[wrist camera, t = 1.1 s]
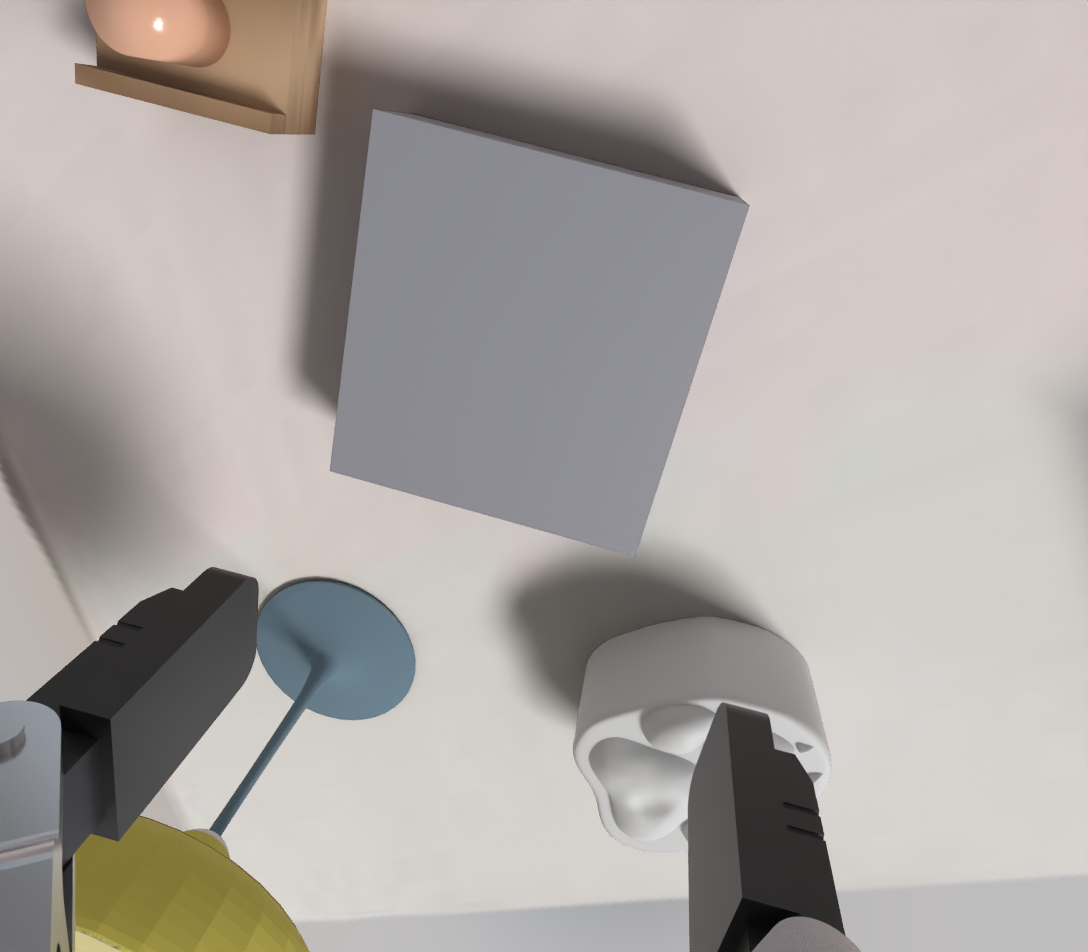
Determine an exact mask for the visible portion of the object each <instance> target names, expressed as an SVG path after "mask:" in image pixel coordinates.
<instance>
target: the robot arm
mask: <svg viewBox="0 0 1088 952" xmlns="http://www.w3.org/2000/svg"><path fill="white" fill-rule="evenodd" d="M258 591H259V590H258V582H257V580H256V579H255V578H253V577H249V576H246V575H242V574H238V573H234V572H230V571H226V570H223V569H219V568H215V567H211V568H209V569H207V570H206V571H204V572H203V573H202V574H201V575H200V576H199V577H198V578H197V579H196V580H194V581H193V582H192V583H191V584H190V585H189V586H188V587H187V588H186V589H185V590H184V591H182V590H179V589H175V588H170V589H167V590H165V591H163V592H161V593H158V594H156V595H154V596H152V597H149V598H147V599H145V600H143V601H141V602H139V603H138V604H137V605H136V606H135V607H134V608H132V609H131V610H130V611H129V612H128V613H127V614H126V615H124V616H123V617H122V618H121V619H120V620H119V621H118V624H117V625H113V626H112V627H110V628H109V629H108V630H107V631H106V632H105V633H104V634H102V635H101V636H100V638H99V641H98V642H97V641H94V642H93V643H92V644H91V645H90V646H89V647H87V648H86V649H85V650H84V651H83V652H82V653H80V654H79V655H78V656H77V657H76V658H75V659H74V660H72V661H71V662H70V663H69V664H68V665H67V666H65V667H64V668H63V669H62V670H61V671H60V672H58V673H57V674H56V675H55V676H54V677H53V678H52V679H50V680H49V681H48V682H47V683H46V684H45V685H43V686H42V687H41V688H40V689H39V690H38V691H36V692H35V693H34V694H33V695H32V696H31V697H30V698H28V699H27V700H26V701H7V702H1V703H0V952H75V855H74V853H75V852H76V851H77V850H78V849H79V847H80V846H81V845H82V844H83V843H84V841H85V840H86V839H87V838H88V837H89V835H90V834H94V835H97V836H101V837H104V838H108V839H111V840H114V841H118V842H119V841H120V839H121V838H122V837H123V836H124V834H125V833H126V832H127V831H128V829H129V828H130V827H131V826H132V824H133V823H134V822H135V821H136V819H137V818H138V817H139V815H140V814H141V813H142V812H143V810H144V809H145V808H146V807H147V805H148V804H149V803H150V802H151V800H152V799H153V798H154V797H155V795H156V794H157V793H158V792H159V790H160V789H161V788H162V786H163V785H164V784H165V783H166V781H167V780H168V779H169V778H170V776H171V775H172V774H173V773H174V771H175V770H176V769H177V768H178V766H179V765H180V764H181V763H182V761H183V760H184V759H185V757H186V756H187V755H188V754H189V752H190V751H191V750H192V749H193V747H194V746H195V745H196V744H197V742H198V741H199V740H200V739H201V737H202V736H203V735H204V734H205V732H206V731H207V730H208V728H209V727H210V726H211V725H212V723H213V722H214V721H215V720H216V718H217V717H218V716H219V715H220V713H221V712H222V711H223V710H224V708H225V707H226V706H227V705H228V703H229V702H230V701H231V699H232V698H233V697H234V696H235V694H236V693H237V692H238V691H239V689H240V688H241V687H242V685H243V684H244V682H245V681H246V679H247V677H248V675H249V673H250V671H251V668H252V665H253V662H254V659H255V654H256V643H257V617H258ZM818 814H819V808H818V803H817V799H816V794H815V789H814V784H813V782H812V780H811V778H810V777H809V775H808V774H807V772H806V771H805V769H804V768H803V766H802V764H801V763H800V761H799V760H798V758H797V757H796V755H795V754H792V753H788V752H784V751H781V750H777V749H775V748H774V742H773V735H772V729H771V723H770V718H769V716H768V714H766V713H763V712H759V711H755V710H751V709H747V708H744V707H740V706H736V705H732V704H728V703H725V702H722V703H721V704H720V705H719V707H718V709H717V711H716V713H715V716H714V719H713V721H712V724H711V727H710V729H709V732H708V735H707V737H706V740H705V742H704V745H703V748H702V750H701V753H700V756H699V758H698V761H697V764H696V766H695V769H694V772H693V776H692V780H691V785H690V790H689V798H688V865H689V929H690V930H689V933H690V934H689V935H690V952H861V951H860V950H859V949H858V948H857V947H856V946H855V944H854V943H853V942H851V941H850V940H849V939H848V938H847V937H846V936H845V932H844V928H843V923H842V918H841V914H840V909H839V904H838V899H837V895H836V890H835V885H834V880H833V875H832V870H831V866H830V861H829V856H828V851H827V846H826V842H825V841H823V837H824V832H823V827H822V823H821V818H820V817H819V816H818Z"/></svg>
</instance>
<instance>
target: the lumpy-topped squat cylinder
mask: <svg viewBox="0 0 1088 952" xmlns="http://www.w3.org/2000/svg"><path fill="white" fill-rule="evenodd" d="M722 702H725V703H728V704H732V705H736V706H740V707H744V708H747V709H751V710H755V711H759V712H763V713H766V714H768V716H769V718H770V723H771V729H772V735H773V742H774V748H775V749H777V750H781V751H784V752H788V753H792V754H795V755H796V757H797V758H798V760H799V761H800V763H801V764H802V766H803V768H804V769H805V771H806V772H807V774H808V775H809V777H810V778H811V780H812V782H813V784H814V789H815V794H816V799H817V798H818V797H819V795H820V794H821V792H822V790H823V789H824V787H825V785H826V783H827V781H828V779H829V776H830V772H831V755H830V751H829V747H828V743H827V739H826V735H825V731H824V727H823V723H822V719H821V714H820V710H819V706H818V702H817V698H816V694H815V690H814V686H813V682H812V678H811V674H810V670H809V667H808V665H807V662H806V661H805V659H804V657H803V656H802V655H801V654H800V653H799V651H798V650H796V649H795V648H794V647H793V646H792V645H791V644H789V643H788V642H786V641H785V640H783V639H782V638H780V637H779V636H777V635H775V634H773V633H771V632H770V631H767V630H765V629H763V628H760V627H757V626H753V625H750V624H746V623H742V622H738V621H734V620H729V619H724V618H719V617H712V616H702V617H693V618H686V619H680V620H674V621H669V622H664V623H659V624H655V625H651V626H647V627H643V628H640V629H637V630H634V631H631V632H628V633H624V634H621V635H618V636H616V637H613V638H611V639H609V640H607V641H606V642H604V643H603V644H601V645H600V646H599V647H598V648H597V649H596V650H595V651H594V652H593V653H592V655H591V656H590V658H589V660H588V662H587V665H586V671H585V677H584V683H583V689H582V695H581V700H580V706H579V712H578V718H577V725H576V733H575V738H574V744H573V754H574V759H575V762H576V764H577V766H578V768H579V770H580V772H581V773H582V774H583V776H584V777H585V779H586V780H587V782H588V783H589V785H590V786H591V788H592V790H593V792H594V794H595V797H596V800H597V805H598V810H599V815H600V818H601V821H602V824H603V826H604V828H605V829H606V831H607V832H608V833H609V834H610V836H611V837H613V838H614V839H615V840H617V841H618V842H620V843H622V844H624V845H626V846H629V847H632V848H634V849H637V850H641V851H645V852H651V853H680V852H688V798H689V790H690V785H691V780H692V776H693V772H694V769H695V766H696V764H697V761H698V758H699V756H700V753H701V750H702V748H703V745H704V742H705V740H706V737H707V735H708V732H709V729H710V727H711V724H712V721H713V719H714V716H715V713H716V711H717V709H718V707H719V705H720V704H721V703H722Z"/></svg>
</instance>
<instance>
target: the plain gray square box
mask: <svg viewBox="0 0 1088 952" xmlns="http://www.w3.org/2000/svg"><path fill="white" fill-rule="evenodd" d="M749 206H750V205H748V204H747V203H746V202H745V201H744V200H742V199H741V198H740V197H736V196H732V195H728V194H724V193H720V192H717V191H713V190H709V189H705V188H701V187H697V186H693V185H689V184H685V183H681V182H677V181H674V180H670V179H666V178H662V177H658V176H654V175H650V174H646V173H642V172H638V171H634V170H631V169H627V168H623V167H619V166H615V165H611V164H607V163H603V162H599V161H595V160H591V159H588V158H584V157H580V156H576V155H572V154H568V153H564V152H560V151H556V150H552V149H548V148H545V147H541V146H537V145H533V144H529V143H525V142H521V141H517V140H513V139H509V138H505V137H501V136H498V135H494V134H490V133H486V132H482V131H478V130H474V129H470V128H466V127H462V126H458V125H455V124H451V123H447V122H443V121H439V120H435V119H431V118H427V117H423V116H419V115H415V114H412V113H404V112H395V111H386V110H377V109H373V112H372V121H371V129H370V137H369V146H368V154H367V163H366V171H365V179H364V188H363V196H362V204H361V213H360V221H359V230H358V238H357V246H356V255H355V263H354V272H353V280H352V288H351V297H350V305H349V313H348V322H347V330H346V339H345V347H344V355H343V364H342V372H341V380H340V389H339V397H338V406H337V414H336V422H335V431H334V439H333V448H332V456H331V464H330V471H331V472H335V473H338V474H342V475H346V476H349V477H353V478H356V479H360V480H363V481H367V482H371V483H374V484H378V485H381V486H385V487H388V488H392V489H395V490H399V491H403V492H406V493H410V494H413V495H417V496H420V497H424V498H427V499H431V500H435V501H438V502H442V503H445V504H449V505H452V506H456V507H460V508H463V509H467V510H470V511H474V512H477V513H481V514H484V515H488V516H492V517H495V518H499V519H502V520H506V521H509V522H513V523H517V524H520V525H524V526H527V527H531V528H534V529H538V530H541V531H545V532H549V533H552V534H556V535H559V536H563V537H566V538H570V539H573V540H577V541H581V542H584V543H588V544H591V545H595V546H598V547H602V548H606V549H609V550H613V551H616V552H620V553H623V554H627V555H630V556H634V557H635V555H636V552H637V549H638V546H639V543H640V540H641V537H642V534H643V530H644V527H645V524H646V521H647V518H648V515H649V512H650V509H651V506H652V503H653V500H654V497H655V494H656V491H657V488H658V485H659V481H660V478H661V475H662V472H663V469H664V466H665V463H666V460H667V457H668V454H669V451H670V448H671V445H672V442H673V439H674V435H675V432H676V429H677V426H678V423H679V420H680V417H681V414H682V411H683V408H684V405H685V402H686V399H687V396H688V393H689V390H690V386H691V383H692V380H693V377H694V374H695V371H696V368H697V365H698V362H699V359H700V356H701V353H702V350H703V347H704V344H705V340H706V337H707V334H708V331H709V328H710V325H711V322H712V319H713V316H714V313H715V310H716V307H717V304H718V301H719V298H720V295H721V291H722V288H723V285H724V282H725V279H726V276H727V273H728V270H729V267H730V264H731V261H732V258H733V255H734V252H735V249H736V245H737V242H738V239H739V236H740V233H741V230H742V227H743V224H744V221H745V218H746V215H747V212H748V209H749Z"/></svg>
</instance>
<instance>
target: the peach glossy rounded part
mask: <svg viewBox="0 0 1088 952" xmlns="http://www.w3.org/2000/svg"><path fill="white" fill-rule="evenodd" d="M85 5H86V10H87V14H88V16H89V19H90V22H91V24H92V26H93V28H94V29H95V31H96V32H97V34H98V35H99V36H100V38H101V39H102V40H103V41H104V42H105V43H106V44H107V45H108V46H109V47H111V48H112V49H114V50H115V51H117V52H119V53H121V54H124V55H127V56H133V57H139V58H144V59H150V60H156V61H162V62H168V63H173V64H179V65H185V66H191V67H198V68H202V67H207V66H210V65H212V64H214V63H216V62H217V61H218V60H219V59H220V58H221V57H222V56H223V55H224V53H225V51H226V49H227V47H228V44H229V40H230V20H229V15H228V12H227V9H226V7H225V5H224V3H223V1H222V0H85Z"/></svg>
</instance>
